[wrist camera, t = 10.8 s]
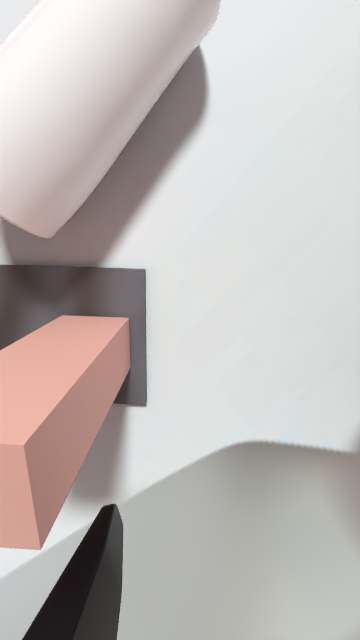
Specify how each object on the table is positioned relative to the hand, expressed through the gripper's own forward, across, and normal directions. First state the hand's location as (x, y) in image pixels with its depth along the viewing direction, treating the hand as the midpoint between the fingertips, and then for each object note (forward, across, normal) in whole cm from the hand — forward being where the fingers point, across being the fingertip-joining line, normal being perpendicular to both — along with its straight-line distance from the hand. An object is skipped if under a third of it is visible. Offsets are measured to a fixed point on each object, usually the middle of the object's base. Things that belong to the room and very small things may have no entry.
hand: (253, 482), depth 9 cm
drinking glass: (+10, -3, -21) cm, 23 cm away
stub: (+14, +7, -2) cm, 16 cm away
